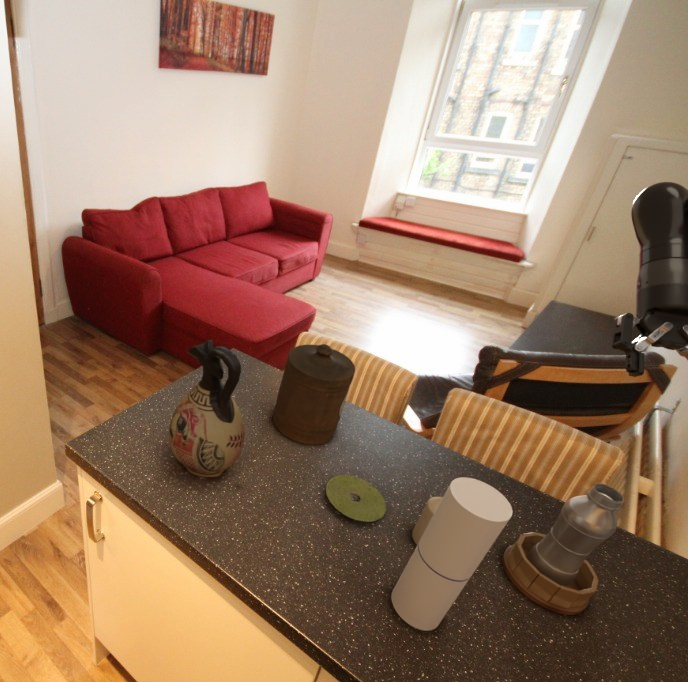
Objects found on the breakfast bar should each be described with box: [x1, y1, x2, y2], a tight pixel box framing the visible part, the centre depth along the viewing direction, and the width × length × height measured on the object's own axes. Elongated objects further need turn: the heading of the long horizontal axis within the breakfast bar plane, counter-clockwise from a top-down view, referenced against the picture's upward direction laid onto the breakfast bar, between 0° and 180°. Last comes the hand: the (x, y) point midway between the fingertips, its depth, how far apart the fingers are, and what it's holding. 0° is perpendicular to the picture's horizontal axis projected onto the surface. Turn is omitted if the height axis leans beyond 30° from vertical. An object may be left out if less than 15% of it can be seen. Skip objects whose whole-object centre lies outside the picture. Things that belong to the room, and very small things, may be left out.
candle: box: [411, 496, 444, 546], centre depth 79 cm, size 6×6×10 cm
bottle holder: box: [501, 531, 600, 616], centre depth 75 cm, size 12×12×5 cm
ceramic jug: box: [168, 339, 246, 478], centre depth 86 cm, size 17×15×30 cm
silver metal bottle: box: [526, 482, 625, 587], centre depth 71 cm, size 6×7×20 cm
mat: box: [325, 474, 387, 523], centre depth 87 cm, size 11×11×2 cm
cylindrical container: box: [390, 476, 513, 632], centre depth 64 cm, size 7×7×25 cm
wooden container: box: [272, 343, 356, 445], centre depth 102 cm, size 15×15×22 cm
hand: (667, 381), depth 72 cm, fingers open, 8 cm apart
